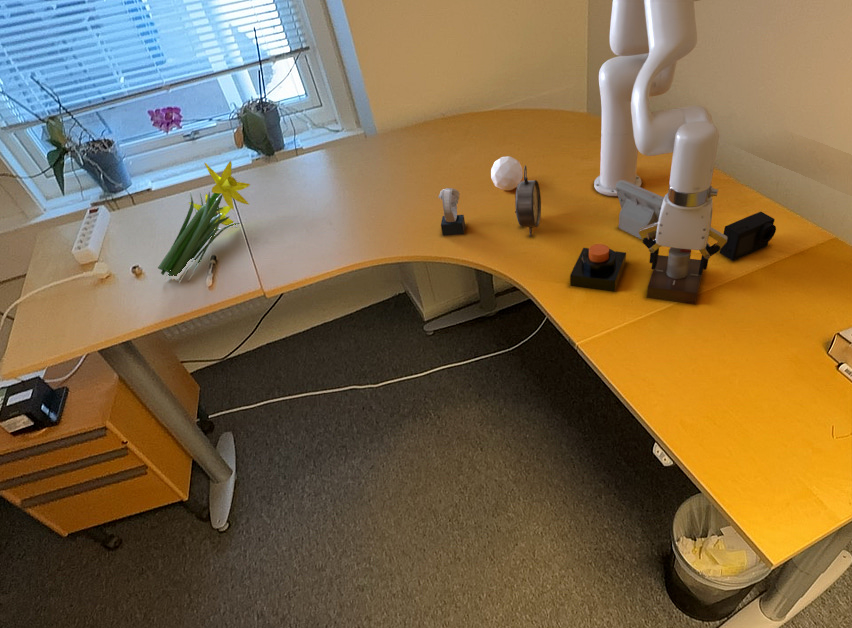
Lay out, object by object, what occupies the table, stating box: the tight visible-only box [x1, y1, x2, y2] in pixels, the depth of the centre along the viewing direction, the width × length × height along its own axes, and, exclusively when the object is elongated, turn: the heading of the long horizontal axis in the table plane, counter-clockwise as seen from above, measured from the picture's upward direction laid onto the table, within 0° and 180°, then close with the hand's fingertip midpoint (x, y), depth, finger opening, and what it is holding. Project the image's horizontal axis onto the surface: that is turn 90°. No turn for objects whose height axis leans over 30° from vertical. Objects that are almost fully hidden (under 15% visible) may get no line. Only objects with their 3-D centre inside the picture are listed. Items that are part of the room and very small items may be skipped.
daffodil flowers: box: [157, 160, 251, 276], centre depth 151 cm, size 17×15×35 cm
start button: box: [588, 243, 610, 263], centre depth 126 cm, size 4×4×2 cm
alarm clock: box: [514, 165, 542, 238], centre depth 141 cm, size 11×5×16 cm, turn 168°
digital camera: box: [719, 211, 777, 262], centre depth 128 cm, size 10×5×7 cm, turn 117°
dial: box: [666, 247, 692, 279], centre depth 121 cm, size 4×4×6 cm
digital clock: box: [616, 180, 665, 241], centre depth 137 cm, size 16×9×11 cm, turn 26°
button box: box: [569, 247, 627, 293], centre depth 128 cm, size 11×10×5 cm
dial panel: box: [646, 254, 704, 305], centre depth 124 cm, size 12×10×3 cm
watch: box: [438, 187, 466, 237], centre depth 145 cm, size 6×8×11 cm
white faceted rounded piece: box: [490, 155, 524, 191], centre depth 160 cm, size 9×9×12 cm
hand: (677, 268), depth 122 cm, fingers open, 9 cm apart
